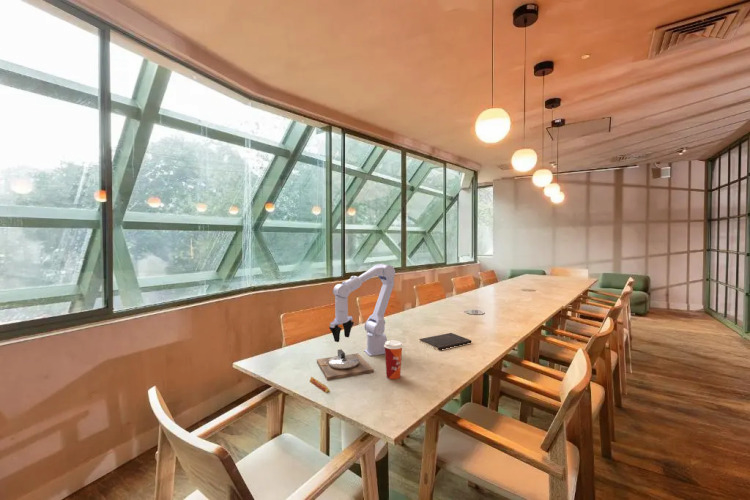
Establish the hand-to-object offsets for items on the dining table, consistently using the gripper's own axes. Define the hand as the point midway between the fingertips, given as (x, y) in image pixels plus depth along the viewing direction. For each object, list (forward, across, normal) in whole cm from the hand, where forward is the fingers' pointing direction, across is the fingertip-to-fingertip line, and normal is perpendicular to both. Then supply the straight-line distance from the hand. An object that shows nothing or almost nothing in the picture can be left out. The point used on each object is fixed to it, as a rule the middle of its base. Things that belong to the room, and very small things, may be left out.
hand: (342, 339), depth 147 cm
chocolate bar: (+10, +25, +8) cm, 29 cm away
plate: (+10, +6, +5) cm, 13 cm away
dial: (+8, +6, +5) cm, 11 cm away
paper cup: (+10, +3, +29) cm, 30 cm away
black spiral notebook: (+11, -49, +32) cm, 60 cm away
